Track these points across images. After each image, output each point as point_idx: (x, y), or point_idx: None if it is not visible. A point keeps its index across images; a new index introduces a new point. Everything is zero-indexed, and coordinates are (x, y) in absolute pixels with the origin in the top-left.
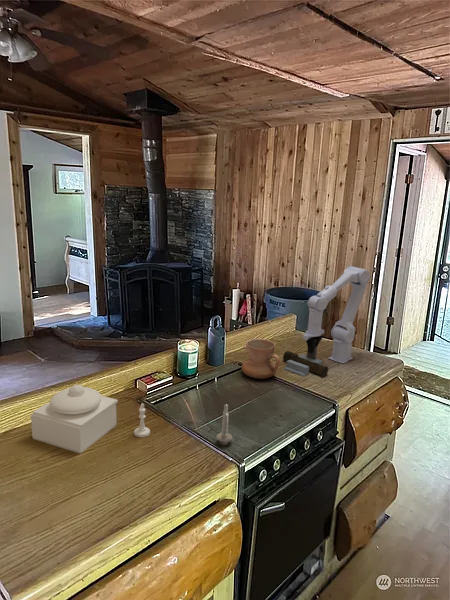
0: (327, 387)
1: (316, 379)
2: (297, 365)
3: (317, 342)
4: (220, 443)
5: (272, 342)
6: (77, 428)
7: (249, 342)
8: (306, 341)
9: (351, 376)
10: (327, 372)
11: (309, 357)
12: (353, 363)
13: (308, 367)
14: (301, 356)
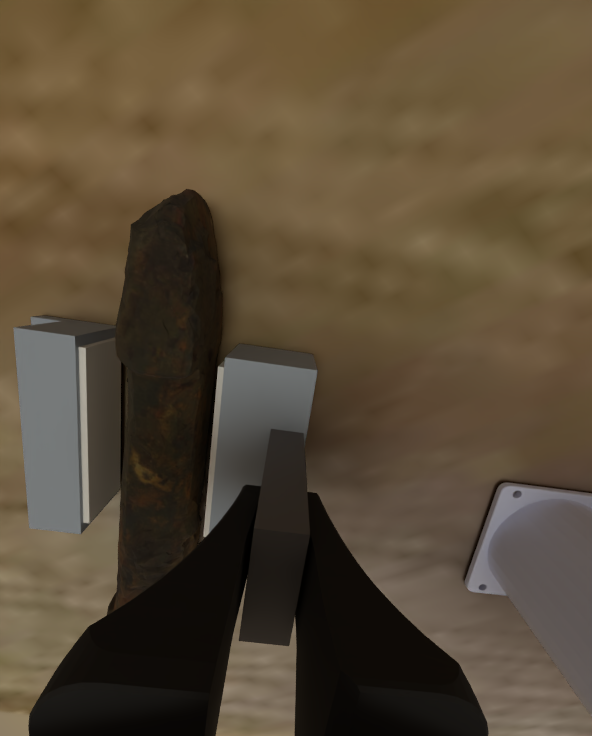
0: (40, 632)
1: (86, 554)
2: (26, 446)
3: (297, 713)
4: None
5: None
6: None
7: None
8: (144, 600)
9: (291, 669)
10: None
11: (265, 460)
12: (513, 622)
13: (71, 528)
14: (249, 383)
